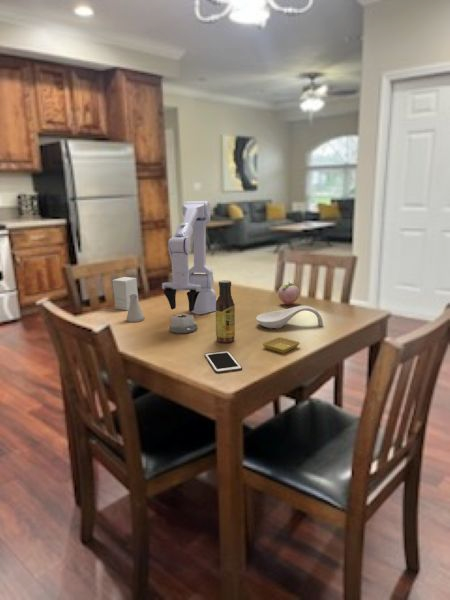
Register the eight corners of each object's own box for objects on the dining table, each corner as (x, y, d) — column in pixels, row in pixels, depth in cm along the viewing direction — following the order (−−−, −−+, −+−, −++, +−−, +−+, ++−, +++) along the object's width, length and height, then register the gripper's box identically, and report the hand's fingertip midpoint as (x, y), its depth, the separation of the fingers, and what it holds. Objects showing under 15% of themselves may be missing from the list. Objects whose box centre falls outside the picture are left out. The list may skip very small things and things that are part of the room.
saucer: (261, 349, 142) (261, 343, 142) (279, 342, 148) (279, 336, 148) (283, 356, 136) (283, 349, 136) (300, 348, 142) (300, 342, 142)
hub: (188, 323, 170) (187, 312, 168) (202, 330, 162) (202, 317, 160) (164, 329, 164) (163, 317, 163) (178, 335, 156) (177, 323, 155)
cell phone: (216, 375, 124) (216, 371, 124) (203, 356, 138) (203, 353, 138) (243, 371, 126) (243, 368, 126) (228, 353, 140) (228, 350, 140)
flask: (140, 322, 172) (138, 297, 170) (122, 322, 174) (120, 296, 171) (147, 317, 179) (145, 292, 177) (130, 316, 181) (128, 292, 178)
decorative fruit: (284, 301, 197) (285, 278, 195) (302, 303, 193) (302, 280, 190) (274, 306, 190) (274, 282, 188) (291, 309, 185) (291, 285, 183)
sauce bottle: (228, 344, 146) (227, 284, 141) (212, 341, 149) (210, 282, 145) (239, 338, 152) (237, 280, 147) (223, 335, 155) (221, 278, 150)
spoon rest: (257, 332, 159) (257, 312, 157) (255, 322, 170) (254, 303, 168) (325, 330, 159) (325, 310, 157) (318, 320, 170) (318, 301, 168)
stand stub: (175, 318, 176) (175, 314, 176) (177, 319, 175) (177, 315, 175) (172, 319, 175) (172, 315, 175) (174, 320, 174) (174, 316, 174)
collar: (182, 323, 166) (181, 313, 165) (193, 326, 163) (193, 315, 162) (171, 327, 162) (171, 317, 161) (183, 330, 158) (183, 319, 157)
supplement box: (139, 306, 195) (137, 277, 192) (127, 310, 189) (124, 281, 186) (126, 304, 199) (124, 276, 196) (114, 308, 193) (111, 279, 190)
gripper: (156, 272, 157) (158, 310, 160) (193, 275, 151) (195, 314, 154) (167, 269, 163) (169, 305, 167) (203, 271, 157) (204, 309, 161)
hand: (182, 309), depth 161 cm, fingers open, 7 cm apart
